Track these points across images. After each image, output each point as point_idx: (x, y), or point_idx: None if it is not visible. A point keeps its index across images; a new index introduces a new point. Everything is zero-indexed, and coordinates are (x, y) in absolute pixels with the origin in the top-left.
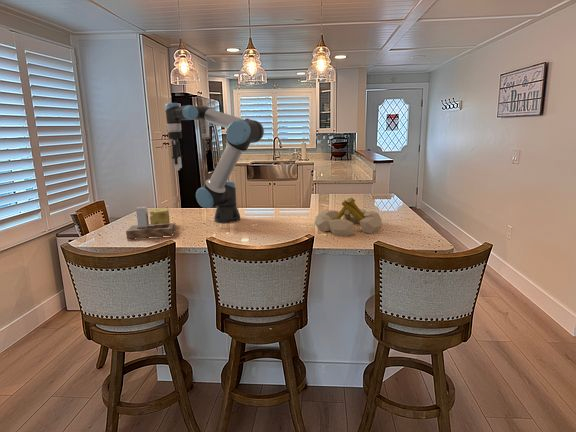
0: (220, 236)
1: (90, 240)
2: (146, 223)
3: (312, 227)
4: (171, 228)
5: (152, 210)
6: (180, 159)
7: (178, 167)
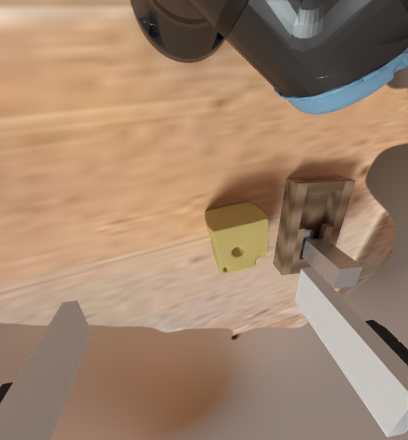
0: None
1: (294, 311)
2: (330, 243)
3: None
4: (346, 180)
5: (244, 263)
6: (16, 425)
7: (328, 291)
